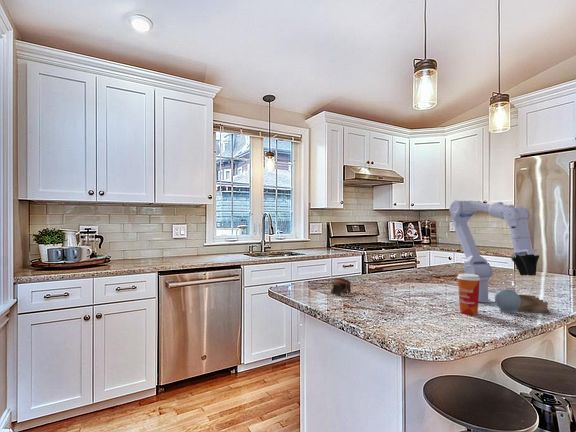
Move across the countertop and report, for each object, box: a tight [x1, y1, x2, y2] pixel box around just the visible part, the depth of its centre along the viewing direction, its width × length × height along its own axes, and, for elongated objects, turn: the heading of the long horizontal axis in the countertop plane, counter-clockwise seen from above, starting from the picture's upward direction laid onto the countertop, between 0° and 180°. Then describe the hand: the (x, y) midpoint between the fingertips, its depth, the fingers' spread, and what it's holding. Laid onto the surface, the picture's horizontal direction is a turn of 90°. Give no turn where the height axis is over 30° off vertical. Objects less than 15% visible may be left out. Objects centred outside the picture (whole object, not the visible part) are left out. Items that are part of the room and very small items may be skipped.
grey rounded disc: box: [494, 288, 521, 314], centre depth 123 cm, size 8×2×8 cm, turn 72°
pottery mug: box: [330, 277, 352, 296], centre depth 154 cm, size 12×10×8 cm
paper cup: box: [456, 273, 481, 316], centre depth 122 cm, size 8×8×14 cm
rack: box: [516, 294, 550, 314], centre depth 128 cm, size 10×12×4 cm
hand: (528, 275), depth 121 cm, fingers open, 7 cm apart
